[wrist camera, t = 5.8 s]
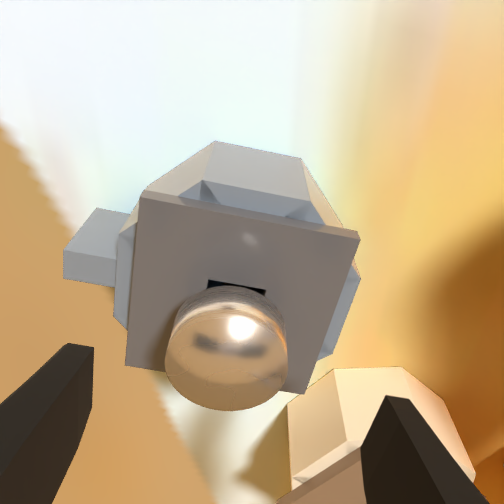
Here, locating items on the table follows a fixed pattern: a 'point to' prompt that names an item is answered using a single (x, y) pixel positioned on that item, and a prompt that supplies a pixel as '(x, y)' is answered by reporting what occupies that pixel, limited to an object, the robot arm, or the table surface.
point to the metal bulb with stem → (227, 349)
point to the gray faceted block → (224, 252)
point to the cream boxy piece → (353, 431)
